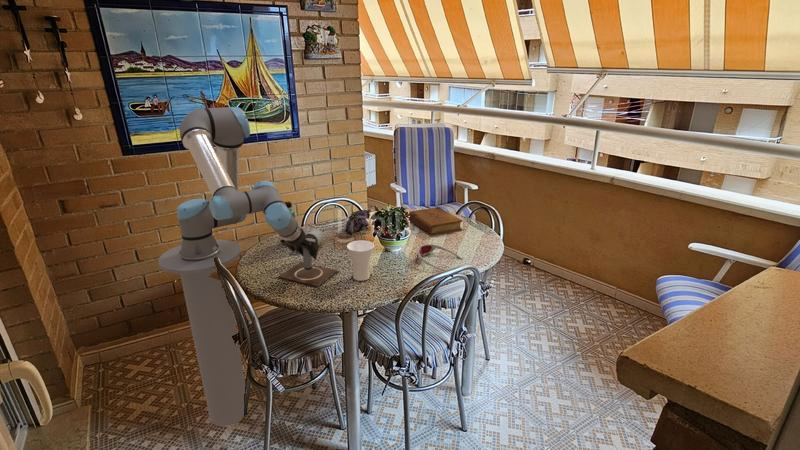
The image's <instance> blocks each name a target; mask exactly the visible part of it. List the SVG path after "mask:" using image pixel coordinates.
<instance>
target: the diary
mask: <svg viewBox="0 0 800 450" xmlns="http://www.w3.org/2000/svg"><path fill="white" fill-rule="evenodd" d="M409 215H410V217H409ZM408 221H409V222H411V223H412V224H413V225H415V226H417V227H418V228H419V229H421V230H422V231H423V232H425V233H426V234H428V235H429V236H431V237H433V236H438V235H445V234H449V233H455V232H461V231H462V229H463V228H462V227H461V223H463V219H461V218H460V217H457V216H456V215H455V214H452V213H451V212H448V211H446V209H443V208H442V207H440V206H436V207H431V208H424V209H418V210H417V209H416V210H410V211H409V212H408Z"/></svg>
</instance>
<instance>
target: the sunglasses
mask: <svg viewBox="0 0 800 450" xmlns="http://www.w3.org/2000/svg"><path fill="white" fill-rule="evenodd" d="M436 249H437V250H441V251H444V252H448V253H450V254H452V255H454V256H455V257H457V258H458V259H462V257H461V256H460V255H458V254H456V253H455V252H453V251H451V250H450V249H447V248H445V247H443V246H441V245H438V244H434V243H425V244H421V245H419V246H418V248H417V250H416V252H417V253H416V262H417V263H418V264H419V263H424V264H425V265H427V266H430V267H433V268H435V269H437V270H439V271H441V272H444V271H445V270H446V269H444V268H441V267H439V266H437V265H434V264H432V263H431V262H429V261H427V260H426V259H425V258H423V257H424V256H426V255H428V254H430V253H432V252H433V251H435V250H436ZM422 256H423V257H422Z"/></svg>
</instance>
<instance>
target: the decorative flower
mask: <svg viewBox="0 0 800 450" xmlns="http://www.w3.org/2000/svg"><path fill="white" fill-rule="evenodd" d="M371 213H372V211H371V210H368V209H360V210H356V211H353V212H352V213H351V214H350V216H349V218H348V220H347V222H346V224H345V231H346V232H347V233H348V234H349V235H353V234H354V230H355V231H356V233H360V232H361V231H362V229H363V228H365V229H366V230H369V225H370V224H369V222H368V220H370V219H371V218H370V217H371Z"/></svg>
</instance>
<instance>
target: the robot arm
mask: <svg viewBox="0 0 800 450" xmlns="http://www.w3.org/2000/svg"><path fill="white" fill-rule="evenodd" d="M179 125H180V126H179V138H180V141H181V143H182V145H183V147H184V148H185V149H186V150H188V151H189V152H190V154H191V157H192V158H193V160H194V162H195V165H196V166H197V168H198V170H199V172H200V174H201V176H202V179H203V181H204V183H205V185H206V187H207V188H208V191H209V193H210V194H211V197H210V198H209V200H207V199H205V198H194V199H189V200H187V201H184V202H182V203H181V204H179V205H178V206H177V207H176V215H177V217H176V218H177V220H178V225H179V229H180V234H181V245H182V246H181V251H180V252H179V253H180V255H181V258H182V259H183V260H186V261H200V260H205V259H209V258H212V257H214V256H216V255H217V254H218V253H219V252H220V249H219V246H218V244H217V242H216V240H215V237H214V235H213V231H212V230H213V229H216V228H221V227H226V226H230V225H231V226H232V225H237V224H239V223H242V222H244V221H245V220H246V218H247V215H252V214H256V213H261V212H262V213H263V214H264V220H265V221H266V223H267V224H268V226H269V227H271V228H272V229H273V231H274V232H276V233H277V234H278V236H279V237H280V241H279V243H280V244H283V245H284V246H285V247H287V249H289V250H290V251H291V252H296V253H298V254H299V255H301V256H302V257H303V248H302V247H305V248H306V249H307V250H308V251H309V252H310V253H309V254H310V255H311V256H312V259H313V260H317V256H318V254H319V249H320V245H318V244H317V242H316V238H315V237H313V238H311V239H310V238H308V236H306V232H305V230H304V229H303V227H302V226H301V224H300V223H299V222H298V221H297V220H296V218H295V219H294V217H293V216H292V214H291V213H290V211H289V209H288V208H287V206H286V204H285V203H284V202H285V201H284V200H283V197H282V195H281V194H280V192H279V190H278V189H277V188H276V186H275V184H274V183H273V182H272V181H269V180H260V181H259V182H256V183H255V184H254V185H253V186H252V189H251V190H244V191H239V189H240V148H242V147H243V145H244V143H245V142H244V141H245V139H247V138H249V137H250V136H251V126H250V123H249V120H248V117H247V115H246V113H245V111H244V110H243V109H242V108H241V107H238V106H225V107H224V106H223V107H207V108H204V107H202V108H196V109H193V110H191V111H189V112H188V113H187V114H186V115H184V117H183V119H182V121H181V123H180V124H179ZM214 146H215V147H214Z"/></svg>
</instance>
